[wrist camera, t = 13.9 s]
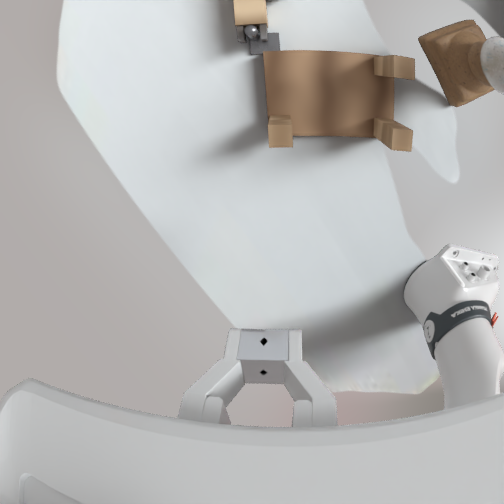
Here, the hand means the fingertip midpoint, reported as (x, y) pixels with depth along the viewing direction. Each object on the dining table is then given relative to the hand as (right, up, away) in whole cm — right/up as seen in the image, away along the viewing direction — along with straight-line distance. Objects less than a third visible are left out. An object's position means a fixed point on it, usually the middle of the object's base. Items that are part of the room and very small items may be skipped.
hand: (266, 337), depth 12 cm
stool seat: (+9, +24, +20) cm, 33 cm away
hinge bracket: (+1, +30, +17) cm, 34 cm away
